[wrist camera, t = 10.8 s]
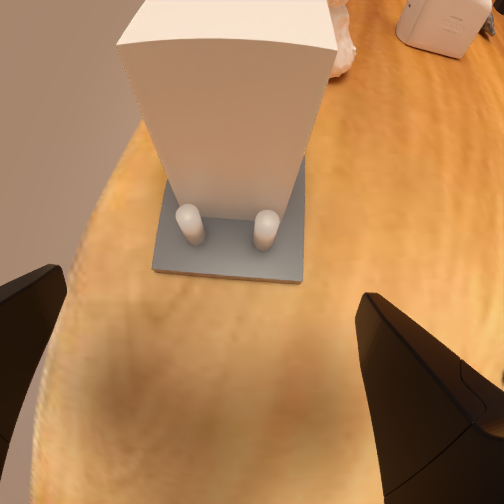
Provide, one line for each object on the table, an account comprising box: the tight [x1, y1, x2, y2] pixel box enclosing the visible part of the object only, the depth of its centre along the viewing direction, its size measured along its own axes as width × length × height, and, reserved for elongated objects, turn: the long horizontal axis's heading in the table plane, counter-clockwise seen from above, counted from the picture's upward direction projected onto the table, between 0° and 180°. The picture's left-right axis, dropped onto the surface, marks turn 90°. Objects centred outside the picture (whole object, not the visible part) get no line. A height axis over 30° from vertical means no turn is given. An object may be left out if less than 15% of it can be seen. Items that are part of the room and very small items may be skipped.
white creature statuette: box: [327, 0, 356, 78], centre depth 19 cm, size 10×9×12 cm
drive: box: [116, 0, 338, 223], centre depth 13 cm, size 4×6×13 cm, turn 86°
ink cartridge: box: [493, 0, 504, 15], centre depth 36 cm, size 5×2×8 cm, turn 157°
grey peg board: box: [152, 154, 305, 284], centre depth 18 cm, size 11×9×4 cm
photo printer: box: [396, 0, 492, 59], centre depth 22 cm, size 10×4×12 cm, turn 96°
